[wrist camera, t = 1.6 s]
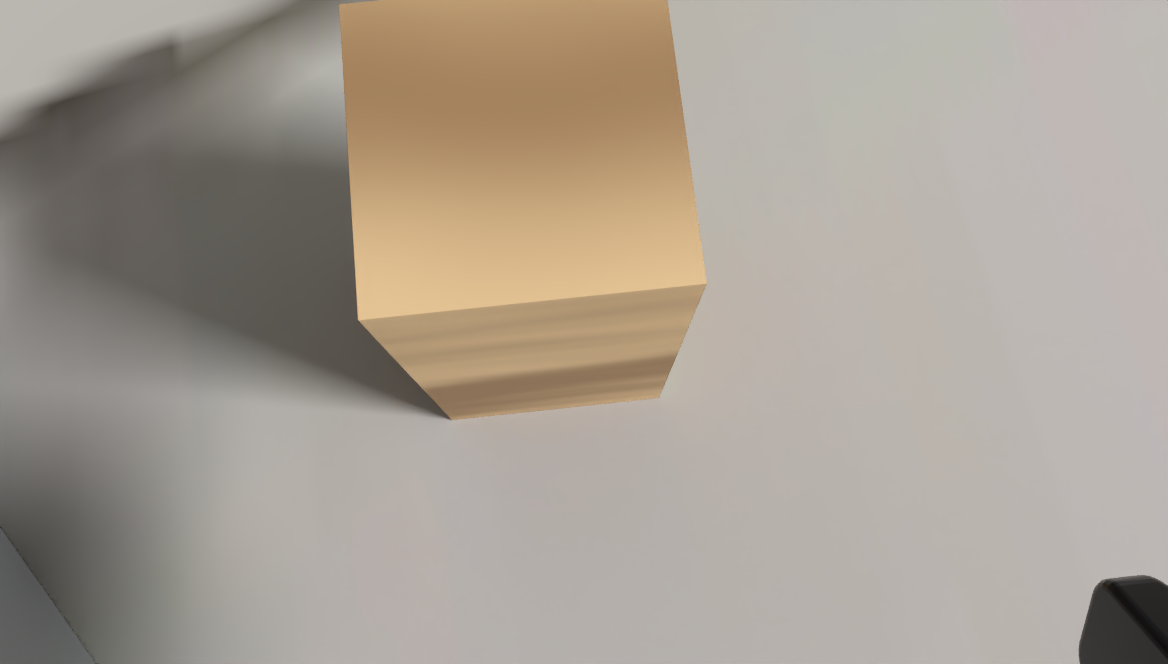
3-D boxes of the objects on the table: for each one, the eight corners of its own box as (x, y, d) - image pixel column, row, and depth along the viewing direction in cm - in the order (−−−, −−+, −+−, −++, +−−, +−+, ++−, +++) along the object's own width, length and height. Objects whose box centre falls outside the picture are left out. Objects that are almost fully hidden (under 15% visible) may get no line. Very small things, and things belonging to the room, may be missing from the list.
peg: (658, 398, 22) (706, 283, 13) (451, 420, 22) (357, 320, 13) (634, 202, 23) (663, -28, 14) (436, 223, 23) (338, 4, 14)
